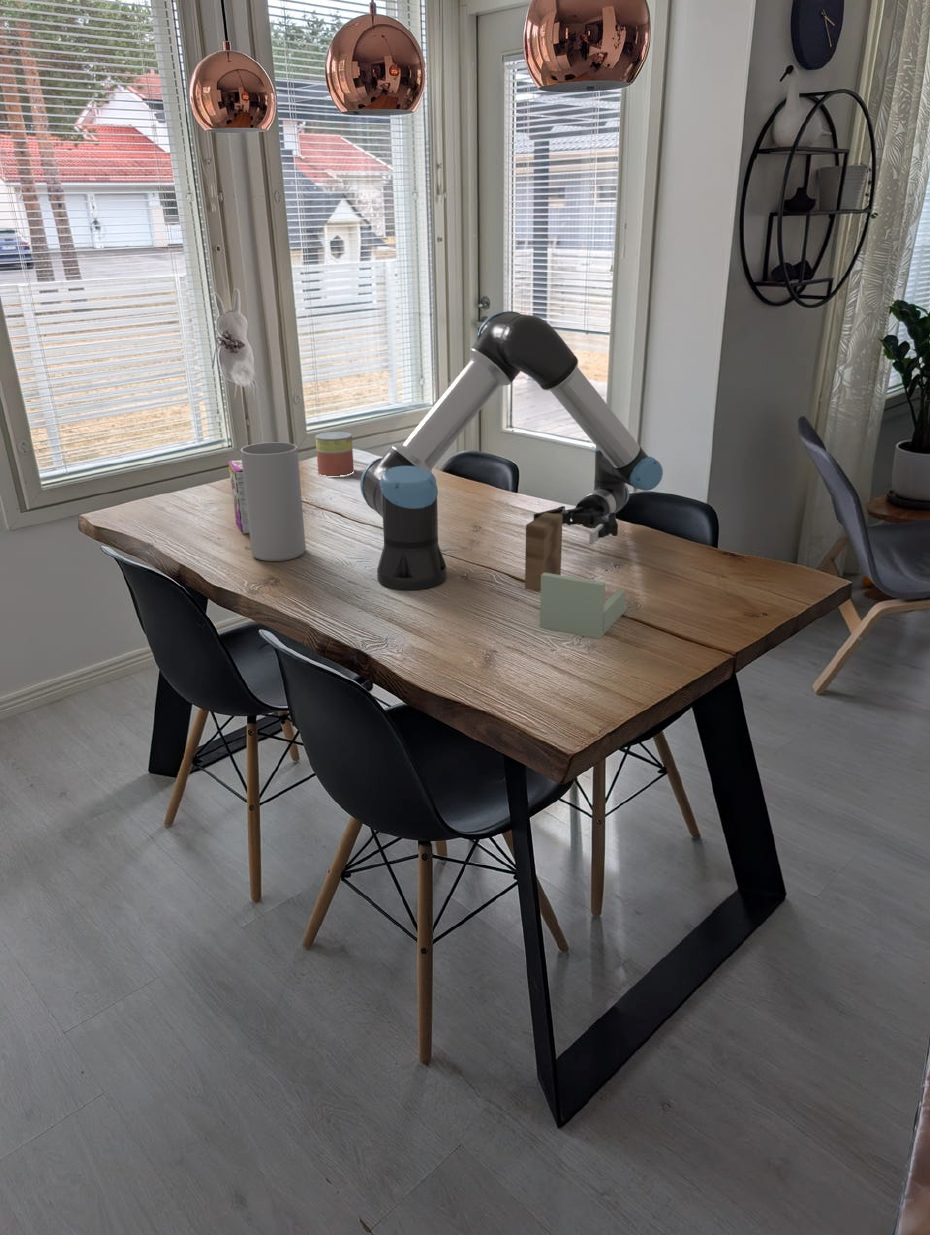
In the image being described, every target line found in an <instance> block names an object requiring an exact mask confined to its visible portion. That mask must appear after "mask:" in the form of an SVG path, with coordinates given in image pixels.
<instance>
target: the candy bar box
mask: <svg viewBox="0 0 930 1235" xmlns="http://www.w3.org/2000/svg"><path fill="white" fill-rule="evenodd" d="M228 471H229V476H230V477H229V478H230V484H231V485H230V487H231V493H232V501H233V509H234V510H233V511H234V518H235V523H236V525H237V526H238V528H239V530H240V532H241V534H242V535H250V532H249V523H248V513H247V504H246V495H245V486H244V477H243V467H242V459H237V460H230V461H229V460H228Z"/></svg>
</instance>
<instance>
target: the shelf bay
mask: <svg viewBox="0 0 930 1235" xmlns="http://www.w3.org/2000/svg"><path fill="white" fill-rule="evenodd" d="M605 593H606V582H603V581H599V580H598V581H597V580H591V579H586V578H581V577H574V576H568V575H562V574H561V575H556V574H550V573H543V574H542V575H541V591H540V602H539V604H540V605H539V628H540V629H546V630H553V631H558V632H561V633H567V634H572V635H577V636H583V637H589V638H593V639H598V640H600V639H601V638H602V637H603V636H604V635H605V634H606V632H608V630H609V629H610V628H611V627H612V626H613V625H614V624H616V622H617V621H618V620H619V619H620V617H621V616H623V614H624V613H625V612H626V611H627V610H628V606H627V605H625V604H626V590H624V589H623V590H622V589H617V590H616V591H615V592H614V593H613V594H612V595H610V597H609V598H608V599H607V600H606V601H605V599H606V597H605V595H606V594H605Z"/></svg>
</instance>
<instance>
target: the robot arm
mask: <svg viewBox="0 0 930 1235" xmlns="http://www.w3.org/2000/svg"><path fill="white" fill-rule="evenodd" d="M476 336H477V340H476V341H475V343H474V344H473V346H472V347H471V348H470V349H469V361H468V363H467V364H466V365H465V366H464V368H463V369H462V371H460V373H459V374H458V375H457V377H456V378H455V379H454V380H453V381H452V383H451V384H450V385H449V386H448V387H447V389H445V391H444V392H443V394H442V395H441V396H440V397H439V398H438V399H437V401H436V402H435V404H434V405H432V407H431V409H429V411H428V412H427V413H426V414H425V416H424V417H423V418H422V420H420V422H419V423H418V424H417V425H416V427H415V428H414V429H413V431H412V432H411V433H410V434H409V435H408V437H407V438H406V439H405V440H404V441H403V443H402V444H399V445H391V446H390V448H389V449H388V450H387V451H386V453H385V454H384V455H383V456H382V457H380V458H377V459H375V460H372V461H371V462H369V463H368V464H367V465H366V467H365V468H364V469H363V472H362V474H361V477H360V484H359V486H360V492H361V495H362V497H363V498H364V500H365V502H366V504H367V505H368V507H369V508H371V509H372V510H373V511H374V512H376V513H377V514H378V516H381V518H382V529H383V530H382V532H383V533H382V534H383V548H382V551H381V555H380V557H379V561H378V566H377V569H376V573H377V574H376V577H377V582H378V583H379V584H380V585H382V586H384V587H387V588H390V589H394V590H402V591H415V590H425V589H429V588H434V587H437V586H439V585H441V584H443V583H444V582H445V581H446V580H447V577H448V568H447V565H446V562H445V559H444V557H443V556H444V555H443V554H442V551H441V548H440V545H439V526H438V525H439V523H438V522H439V520H438V519H439V517H438V516H439V513H438V512H439V511H438V493H439V489H438V486H437V485H438V484H437V479H436V476H435V475H434V474H433V472H432V471H433V468H434V467H435V466H436V465H437V463H438V462H439V461H440V460H441V459H442V457H443V456H444V455H445V454H446V452H447V451H448V450H449V449H450V448H451V446H452V445H453V444H454V443H455V442H456V440H457V439H458V438H459V437H460V436H461V434H463V432H464V431H465V430H466V428H467V426H468V425H469V424H470V423H471V422H472V421H473V419H474V418H475V417H476V415H477V416H478V413H479V412H480V411H481V410H482V408H484V406H485V405H486V403H488V401H489V400H490V399H491V398H492V396H493V395H494V394H495V392H496V391H497V390H498V389H499V388H500V387H502V386H509V385H511V384H512V383H513V381H514V380H515V379H516V378H517V377H518V375H519V374H520V373H521V372H522V373H523V374H525V375H527V376H528V377H530V378H531V379H532V380H533V381H534V382H536V383H537V384H538V385H539V387H540V388H541V389H542V390H543V391H549V392H551V394H553V396H554V397H555V398H556V399H557V401H558V402H559V403H560V404H561V405H562V407H563V408H564V409H565V410H566V411H567V413H569V415H570V417H571V418H572V419H573V420H574V421H575V422H576V424H577V425H578V426H579V427H580V428H581V429H582V431H583V432H584V434H586V436H588V438H589V439H590V440H591V441H592V444H594V445H595V450H594V482H593V484H594V485H593V486H594V487H593V491H592V492H590V493H589V494H587V495H586V496H585V497H583V498H582V499H581V500H580V501H578V503H577V504H576V506H575V507H574V508H569V509H566V506H564V505H562V506H559V507H556V508H553V509H550V510H544V511H541V512H537V513H533V520H534V519H536V518H538V517H539V516H541V515H542V514H544V513H553V514H560V515H563V518H562V525H564V524H566V525H567V526H573V525H580V526H583V527H585V528H588V529H592V530H590V531H589V541H588V542H589V545H592V546H593V544H595V543H596V542H598V541H599V540H600V539H601V538H605V537H607V536H610V535H612V537H618V535H619V534H618V533H619V524H618V521H617V520H616V519H617V518H616V516H617V515H616V513H618V512H620V511H621V510H622V509H623V508H624V507H625V505H626V504H627V502H628V501H629V498H630V490H629V487H628V486H627V485H629V486H631V487H632V488H634V489H635V490H636V489H637V490H640V491H643V492H644V491H651V490H654V489H655V488H656V487H658V485H659V484H660V483H661V481H662V478H663V475H664V470H663V466H662V464H661V463H660V461H658V460H656V459H655V458H654V457H652V456H649V455H648V454H647V453H646V452H645V450H644V449H643V448H642V446H641V445H640V444H639V443H638V442H637V441H636V440H635V438H634V437H633V435H631V433H630V432H629V431H628V429H627V427H625V425H624V424H623V423H622V422H621V420H620V419H619V418H618V416H617V415H616V413H615V412H613V410H612V409H611V408H610V406H609V405H608V404H607V402H606V401H605V400H604V398H602V396H601V395H600V394H599V392H598V391H597V390H596V388H595V387H594V386H593V385H592V383H591V382H590V381H589V379H587V377H586V375H584V373H583V372H582V370H581V369H580V368H579V367H578V366H579V359H578V357H577V356H576V354H574V352H573V351H572V349H570V347H569V345H568V344H567V343H566V342H565V340H564V339H563V338H562V337H561V336H560V334H559V333H558V331H556V329H554V327H552V325H551V324H550V323H548V322H547V321H546V320H544V319H543V318H541V317H538V316H535V315H532V314H530V315H529V314H522V313H519V312H518V311H517V312H516V311H512V310H511V311H509V310H508V311H501V312H496V313H494V314H492V315H490V316H488V317H487V318H486V319H485V320H484V321H483V322H482V324H481V325H480V327H479V330H478V332H477V334H476Z"/></svg>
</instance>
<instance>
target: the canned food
mask: <svg viewBox="0 0 930 1235" xmlns="http://www.w3.org/2000/svg"><path fill="white" fill-rule="evenodd" d="M314 437H315V448H316V462H317V463H316V464H317V474H318V473H319V474H321V475H326V476H340V475H347V474H350V473H352V472H353V471H354V472H355V469H354V451H353V450H354V449H353V434H352V433H351V432H347V431H326V432H320V433H318V434H315V436H314Z"/></svg>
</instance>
